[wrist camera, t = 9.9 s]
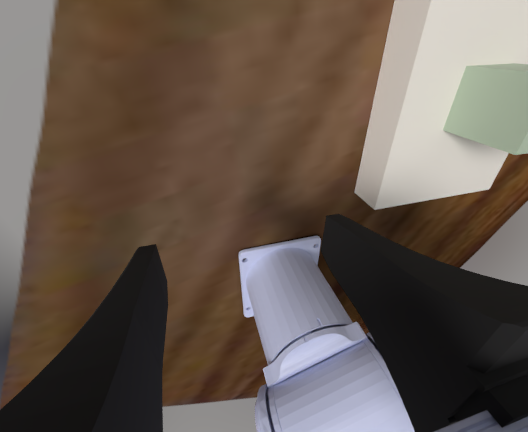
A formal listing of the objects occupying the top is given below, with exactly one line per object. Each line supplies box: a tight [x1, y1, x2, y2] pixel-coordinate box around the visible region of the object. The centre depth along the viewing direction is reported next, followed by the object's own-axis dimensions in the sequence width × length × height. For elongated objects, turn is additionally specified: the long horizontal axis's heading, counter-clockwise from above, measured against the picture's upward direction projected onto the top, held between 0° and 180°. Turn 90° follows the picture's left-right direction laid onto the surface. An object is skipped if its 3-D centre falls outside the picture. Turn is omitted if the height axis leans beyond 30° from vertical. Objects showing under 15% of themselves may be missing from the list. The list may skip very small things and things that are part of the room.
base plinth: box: [354, 0, 528, 210], centre depth 19 cm, size 16×12×3 cm
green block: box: [443, 63, 528, 155], centre depth 16 cm, size 4×4×5 cm
